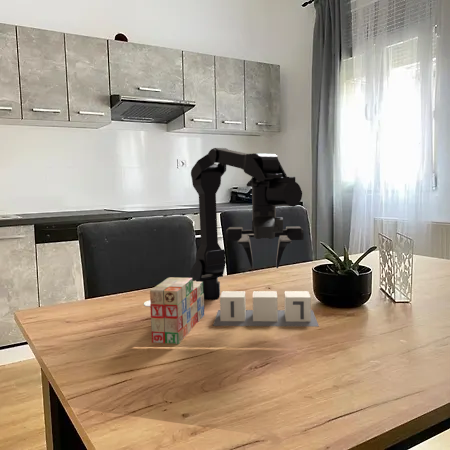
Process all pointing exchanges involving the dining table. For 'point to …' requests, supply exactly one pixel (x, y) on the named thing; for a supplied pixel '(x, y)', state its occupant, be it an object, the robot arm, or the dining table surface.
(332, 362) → the dining table surface
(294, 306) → the digit block 7
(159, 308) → the stack of blocks
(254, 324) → the tap mat
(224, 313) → the digit block 1
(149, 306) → the spoon
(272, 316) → the blank block
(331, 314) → the dining table surface
